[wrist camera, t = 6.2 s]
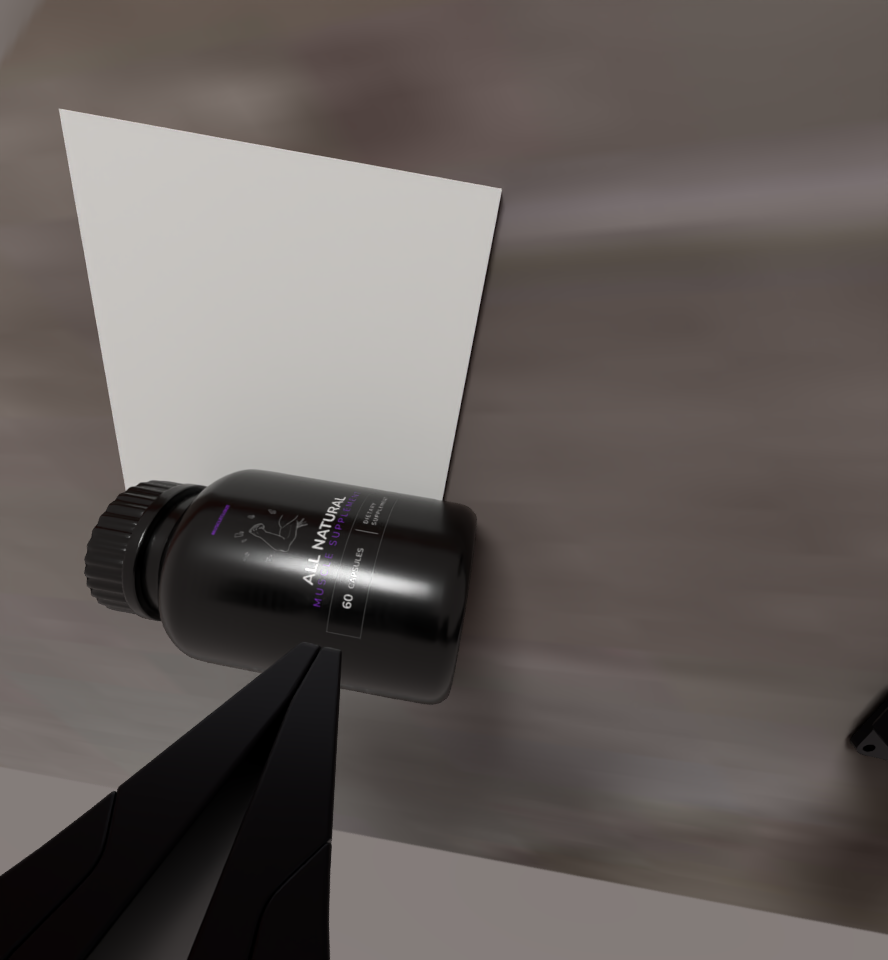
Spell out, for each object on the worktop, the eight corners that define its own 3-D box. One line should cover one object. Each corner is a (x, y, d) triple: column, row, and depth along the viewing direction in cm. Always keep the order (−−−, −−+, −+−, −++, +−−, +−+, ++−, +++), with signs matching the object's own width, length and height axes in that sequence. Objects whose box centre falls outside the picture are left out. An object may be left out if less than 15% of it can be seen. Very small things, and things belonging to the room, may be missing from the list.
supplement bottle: (479, 561, 10) (24, 488, 11) (443, 761, 12) (63, 693, 13) (479, 479, 17) (195, 436, 17) (455, 619, 19) (203, 577, 19)
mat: (501, 191, 13) (502, 188, 12) (412, 656, 21) (411, 660, 21) (68, 112, 13) (58, 108, 13) (149, 598, 22) (145, 602, 21)
